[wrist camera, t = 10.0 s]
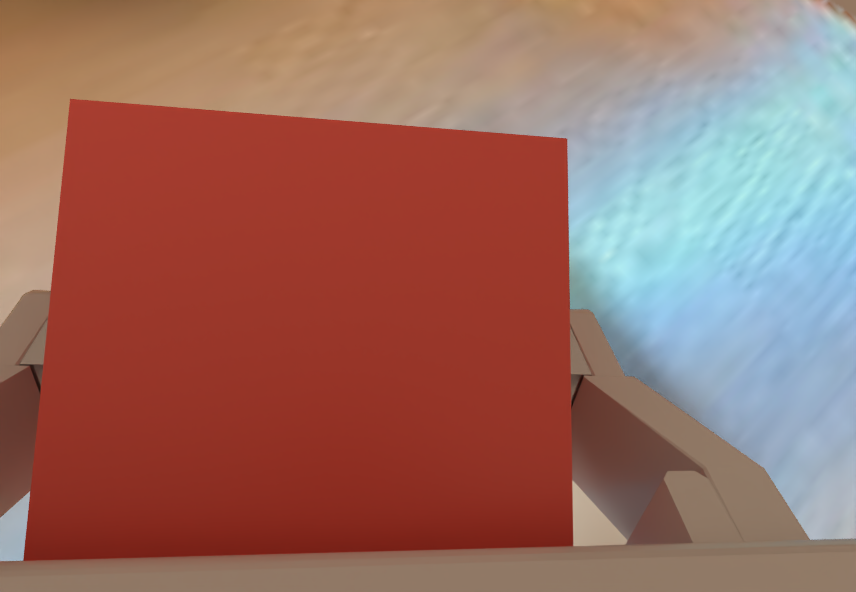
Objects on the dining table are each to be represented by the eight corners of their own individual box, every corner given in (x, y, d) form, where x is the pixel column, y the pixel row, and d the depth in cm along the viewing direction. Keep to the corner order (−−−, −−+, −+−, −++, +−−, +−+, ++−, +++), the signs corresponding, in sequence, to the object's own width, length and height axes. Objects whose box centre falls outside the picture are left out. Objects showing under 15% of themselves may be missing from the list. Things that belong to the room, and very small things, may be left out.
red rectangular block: (198, 495, 14) (13, 657, 6) (214, 252, 14) (69, 98, 6) (442, 492, 14) (574, 630, 6) (444, 262, 15) (567, 139, 7)
